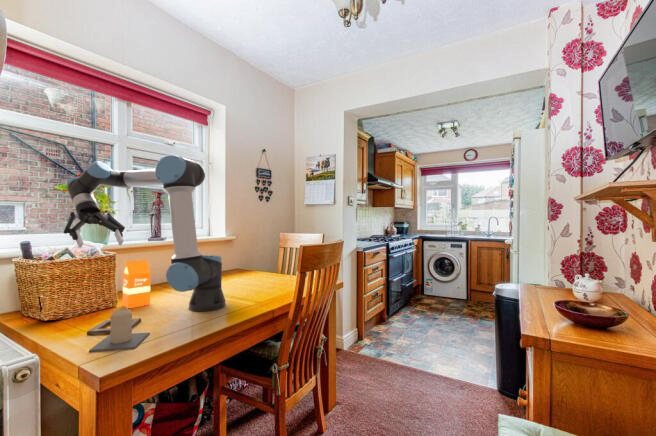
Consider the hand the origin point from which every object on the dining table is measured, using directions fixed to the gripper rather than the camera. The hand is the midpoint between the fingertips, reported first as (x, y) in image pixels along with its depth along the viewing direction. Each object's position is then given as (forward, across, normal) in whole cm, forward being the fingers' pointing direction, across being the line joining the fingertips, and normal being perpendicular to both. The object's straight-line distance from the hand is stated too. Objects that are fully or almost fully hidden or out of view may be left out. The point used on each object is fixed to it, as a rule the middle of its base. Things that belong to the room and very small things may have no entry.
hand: (102, 244), depth 119 cm
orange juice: (+15, -17, -26) cm, 35 cm away
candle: (+43, +7, +3) cm, 44 cm away
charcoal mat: (+44, +7, +3) cm, 44 cm away
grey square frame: (+32, +2, -8) cm, 33 cm away
